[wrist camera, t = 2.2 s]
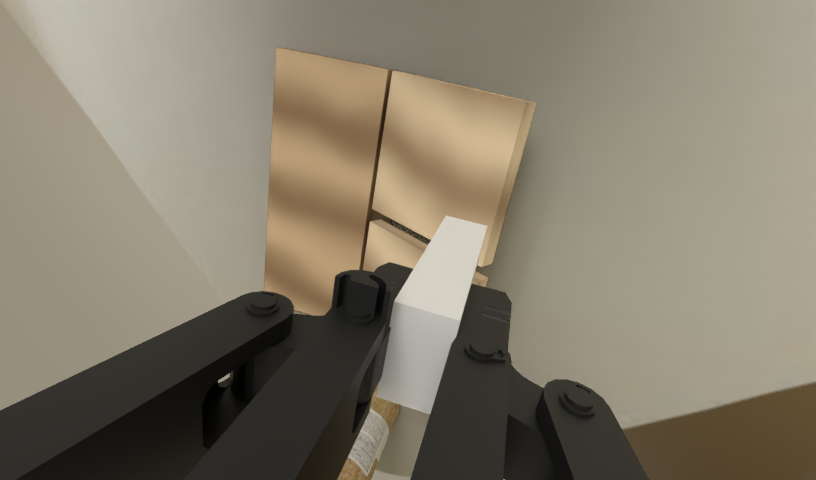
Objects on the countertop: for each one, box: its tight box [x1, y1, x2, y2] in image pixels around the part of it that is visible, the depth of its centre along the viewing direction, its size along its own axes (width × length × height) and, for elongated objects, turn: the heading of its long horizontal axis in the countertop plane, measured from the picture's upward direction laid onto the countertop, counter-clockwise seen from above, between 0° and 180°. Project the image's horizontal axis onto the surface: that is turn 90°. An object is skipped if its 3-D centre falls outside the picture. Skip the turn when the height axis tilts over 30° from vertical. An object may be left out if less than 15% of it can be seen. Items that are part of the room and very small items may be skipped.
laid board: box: [264, 48, 416, 316], centre depth 33 cm, size 20×10×2 cm, turn 170°
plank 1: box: [372, 71, 537, 267], centre depth 27 cm, size 10×10×1 cm
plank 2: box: [363, 219, 488, 287], centre depth 32 cm, size 10×10×1 cm
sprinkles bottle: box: [337, 383, 399, 480], centre depth 34 cm, size 5×4×13 cm
